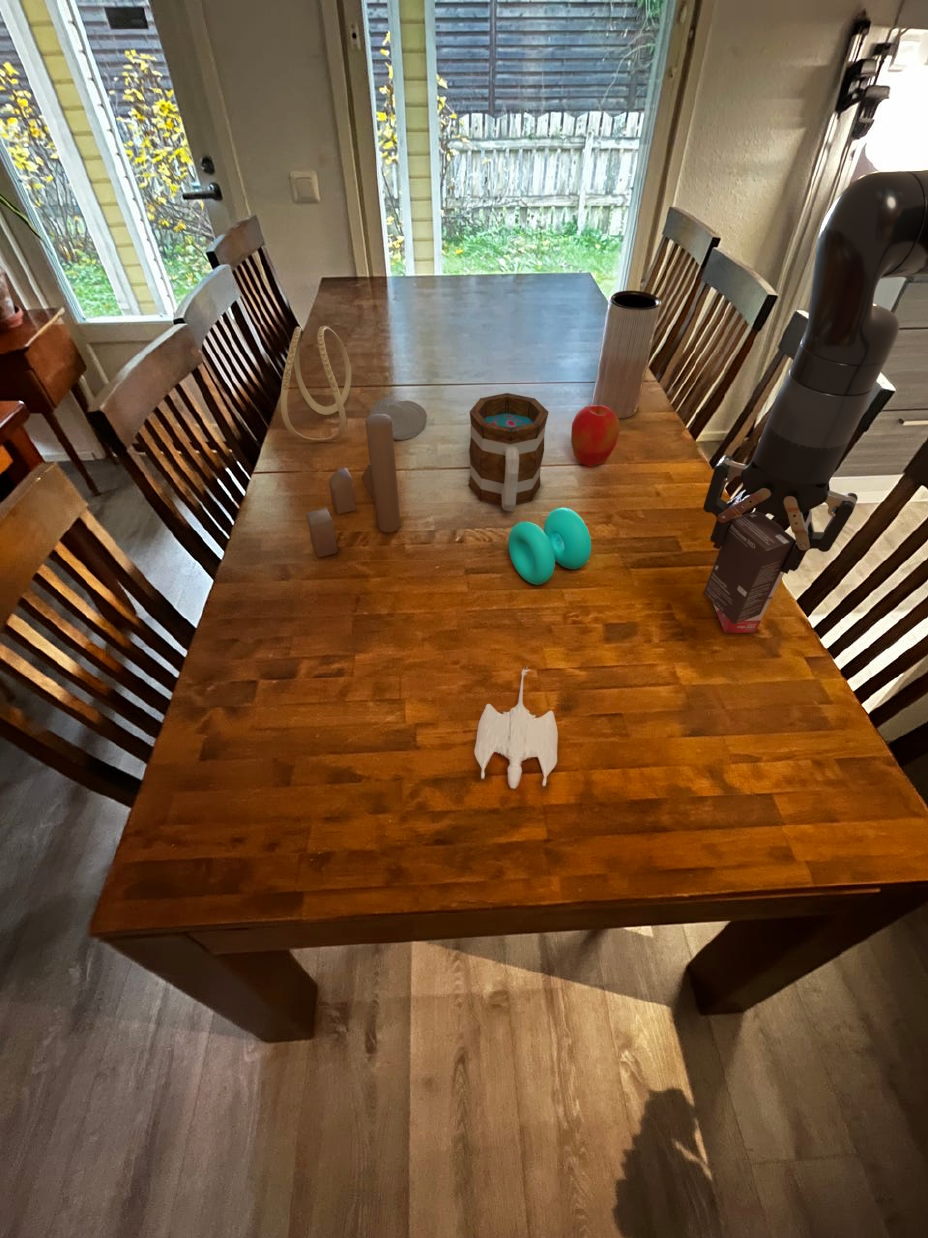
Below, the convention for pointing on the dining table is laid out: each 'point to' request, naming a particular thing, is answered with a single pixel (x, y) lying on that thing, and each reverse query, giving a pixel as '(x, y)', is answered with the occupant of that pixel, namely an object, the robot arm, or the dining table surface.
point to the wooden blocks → (376, 479)
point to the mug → (506, 449)
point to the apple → (594, 434)
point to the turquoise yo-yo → (549, 545)
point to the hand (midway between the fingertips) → (751, 556)
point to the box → (748, 566)
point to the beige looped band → (294, 355)
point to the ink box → (751, 623)
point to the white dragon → (517, 738)
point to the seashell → (402, 416)
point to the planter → (625, 350)
